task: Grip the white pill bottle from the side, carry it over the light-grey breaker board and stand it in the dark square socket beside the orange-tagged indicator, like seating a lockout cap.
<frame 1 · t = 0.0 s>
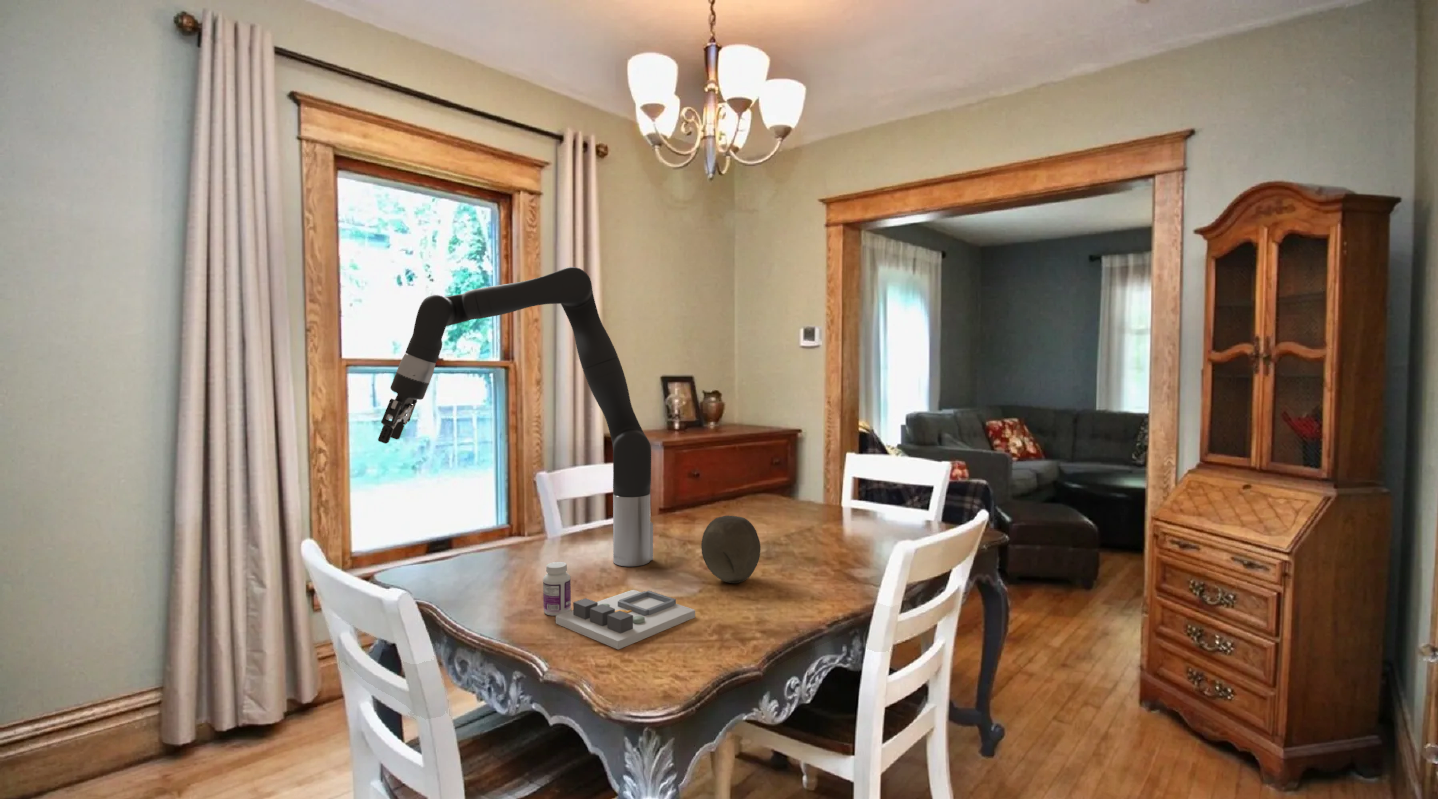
hand: (388, 440, 159), 31 cm above the table, fingers open, 8 cm apart
breaker board: (626, 620, 132), on the table
pill bottle: (557, 612, 137), on the table
dark grey rounded stone: (730, 581, 157), on the table
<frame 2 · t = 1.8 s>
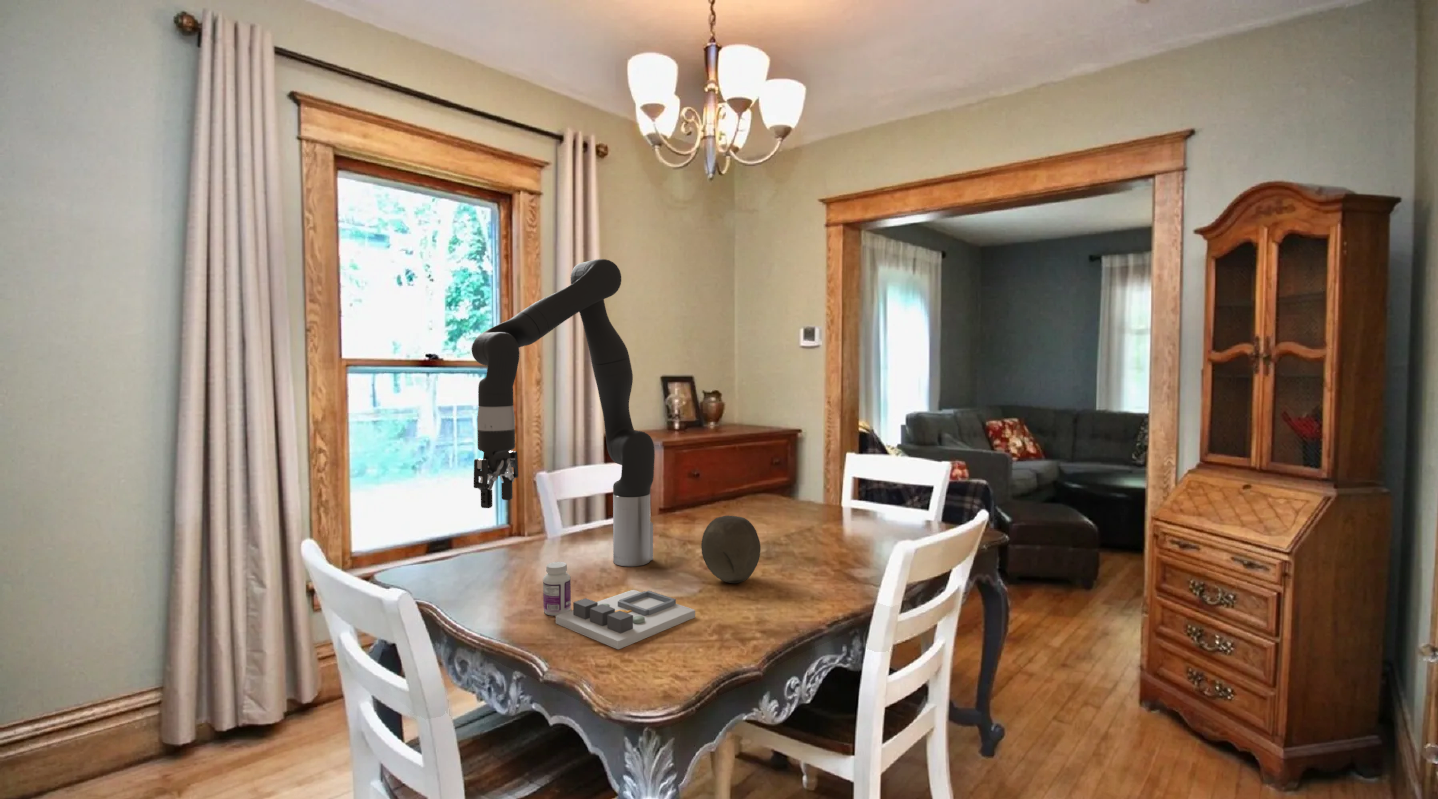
hand: (497, 503, 144), 20 cm above the table, fingers open, 8 cm apart
nothing on the table moved.
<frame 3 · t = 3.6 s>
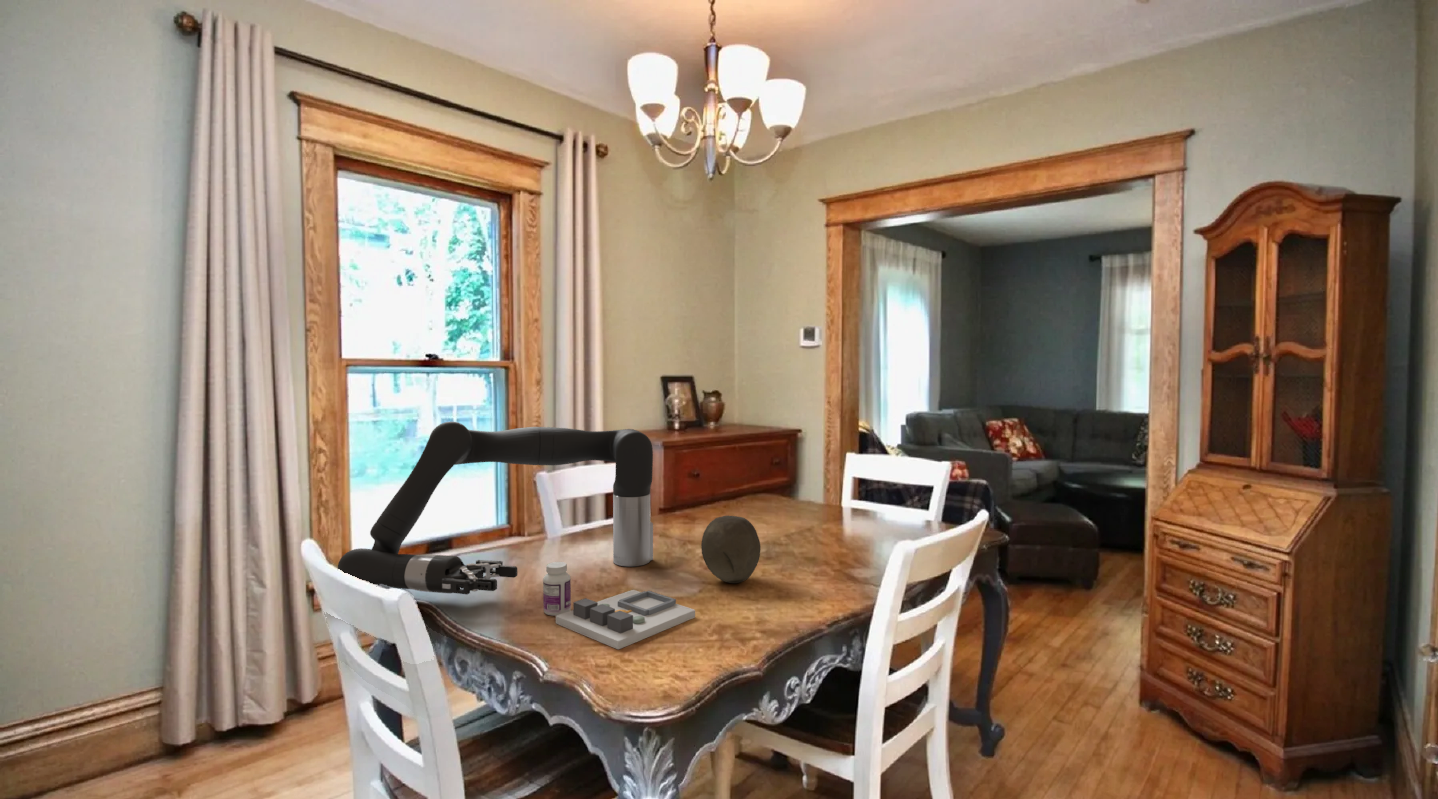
hand: (506, 578, 138), 6 cm above the table, fingers open, 8 cm apart
nothing on the table moved.
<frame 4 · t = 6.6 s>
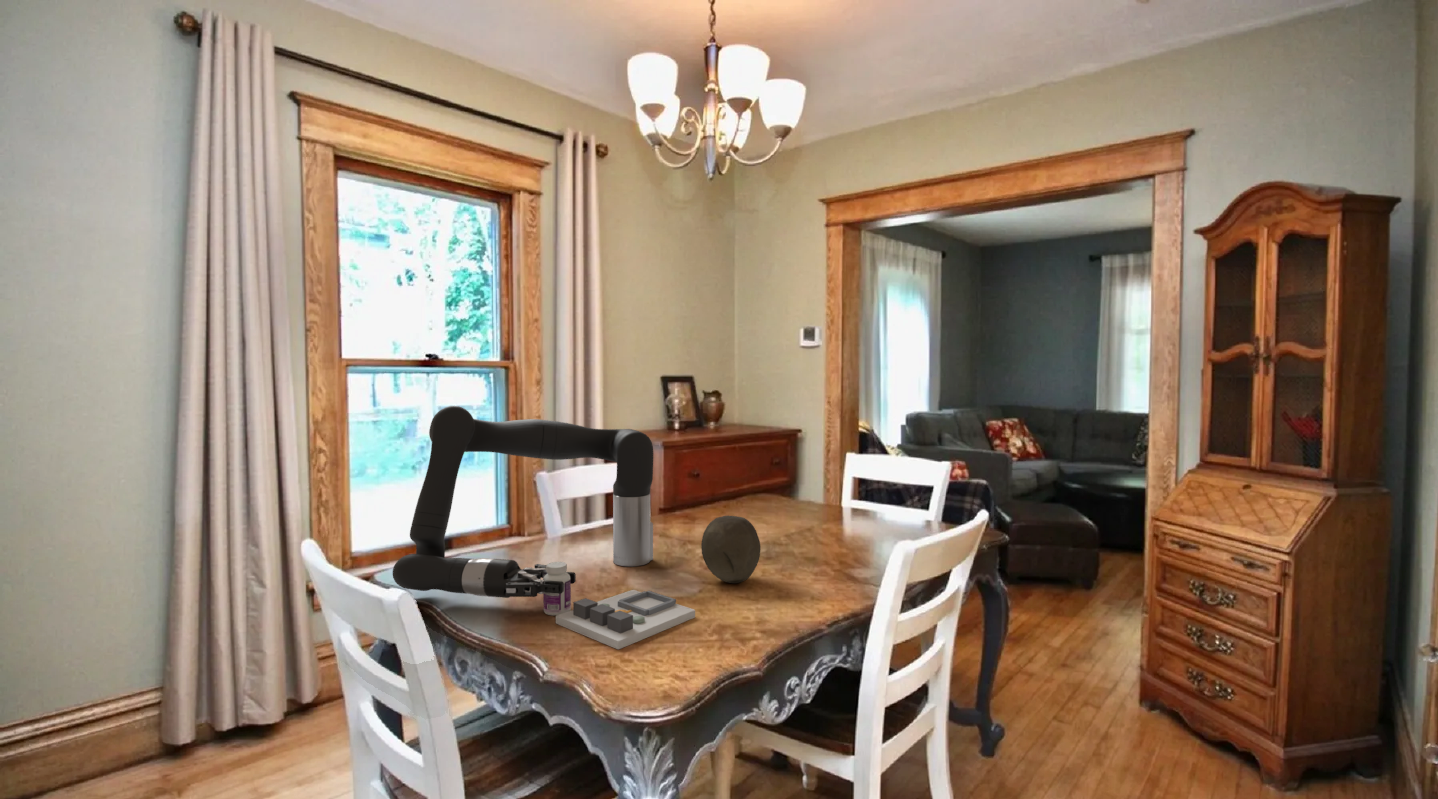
hand: (568, 582, 136), 6 cm above the table, fingers closed on pill bottle, 5 cm apart
pill bottle: (557, 612, 137), on the table, touching gripper
everything else where it was.
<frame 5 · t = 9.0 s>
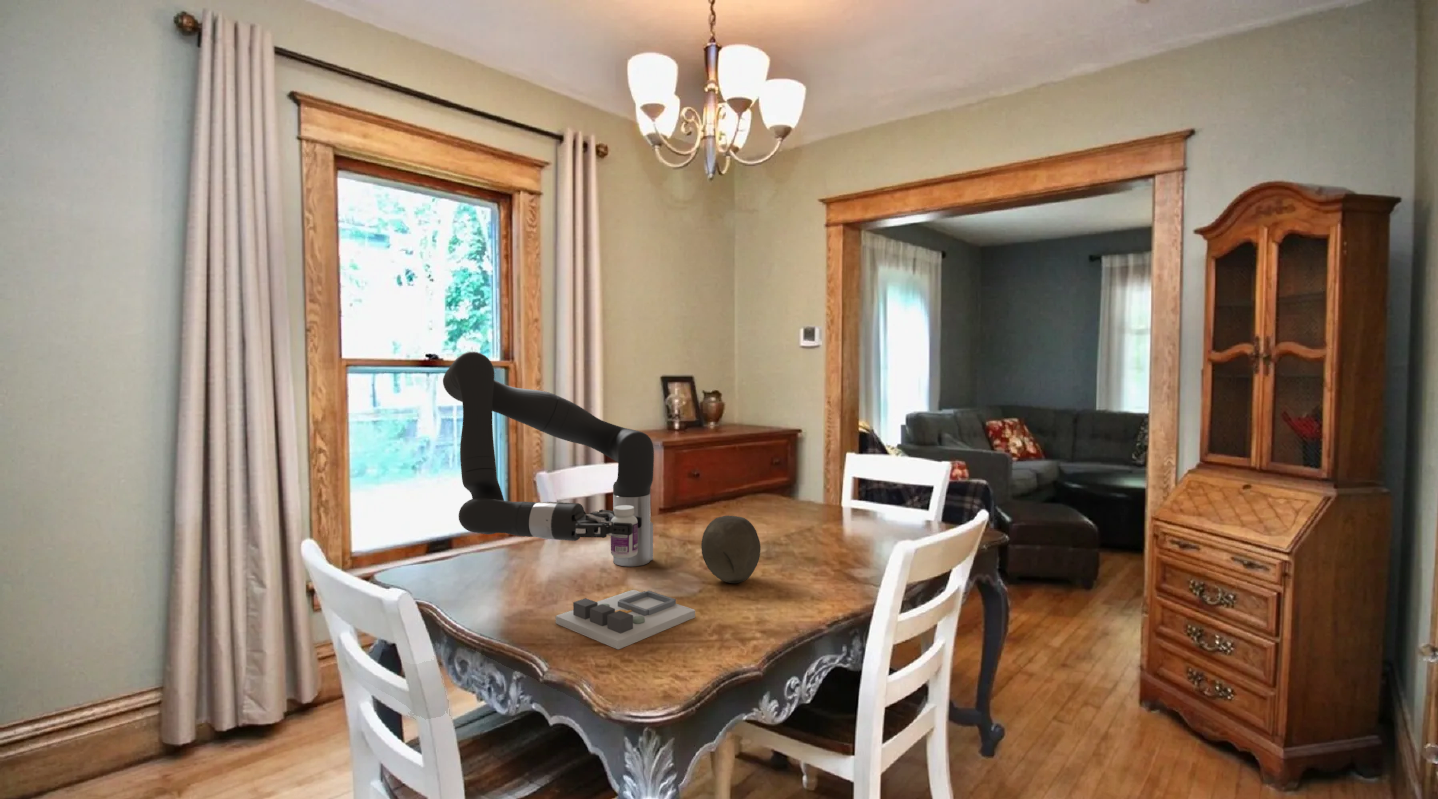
hand: (636, 525, 135), 18 cm above the table, fingers closed on pill bottle, 5 cm apart
pill bottle: (624, 555, 136), point 12 cm above the table, touching gripper
everything else where it was.
when the fingers open (9 cm above the table, at t = 11.5 s): pill bottle drops 1 cm, resting on breaker board.
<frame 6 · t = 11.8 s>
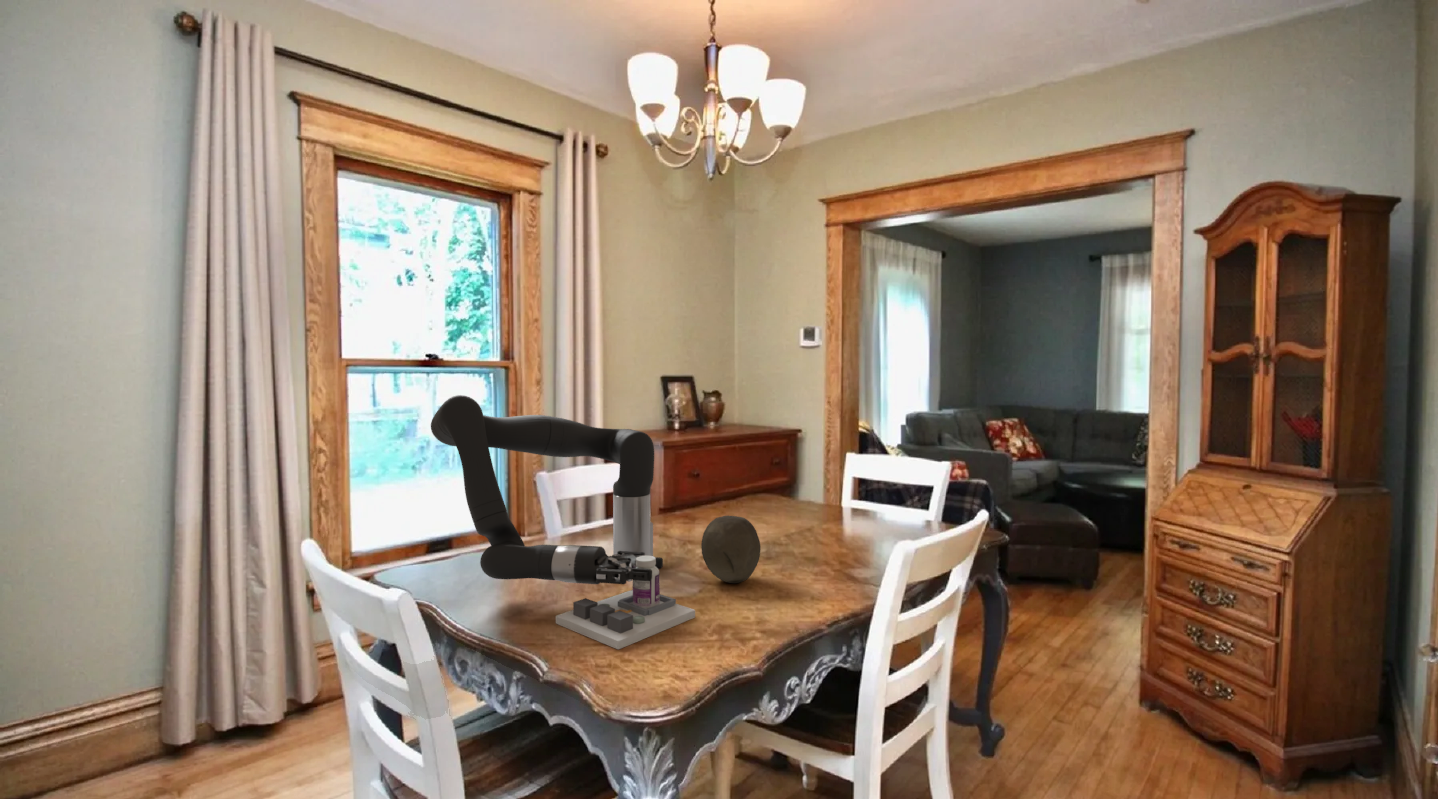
hand: (657, 569, 135), 9 cm above the table, fingers open, 7 cm apart
pill bottle: (646, 606, 136), point 1 cm above the table, touching breaker board
everything else where it was.
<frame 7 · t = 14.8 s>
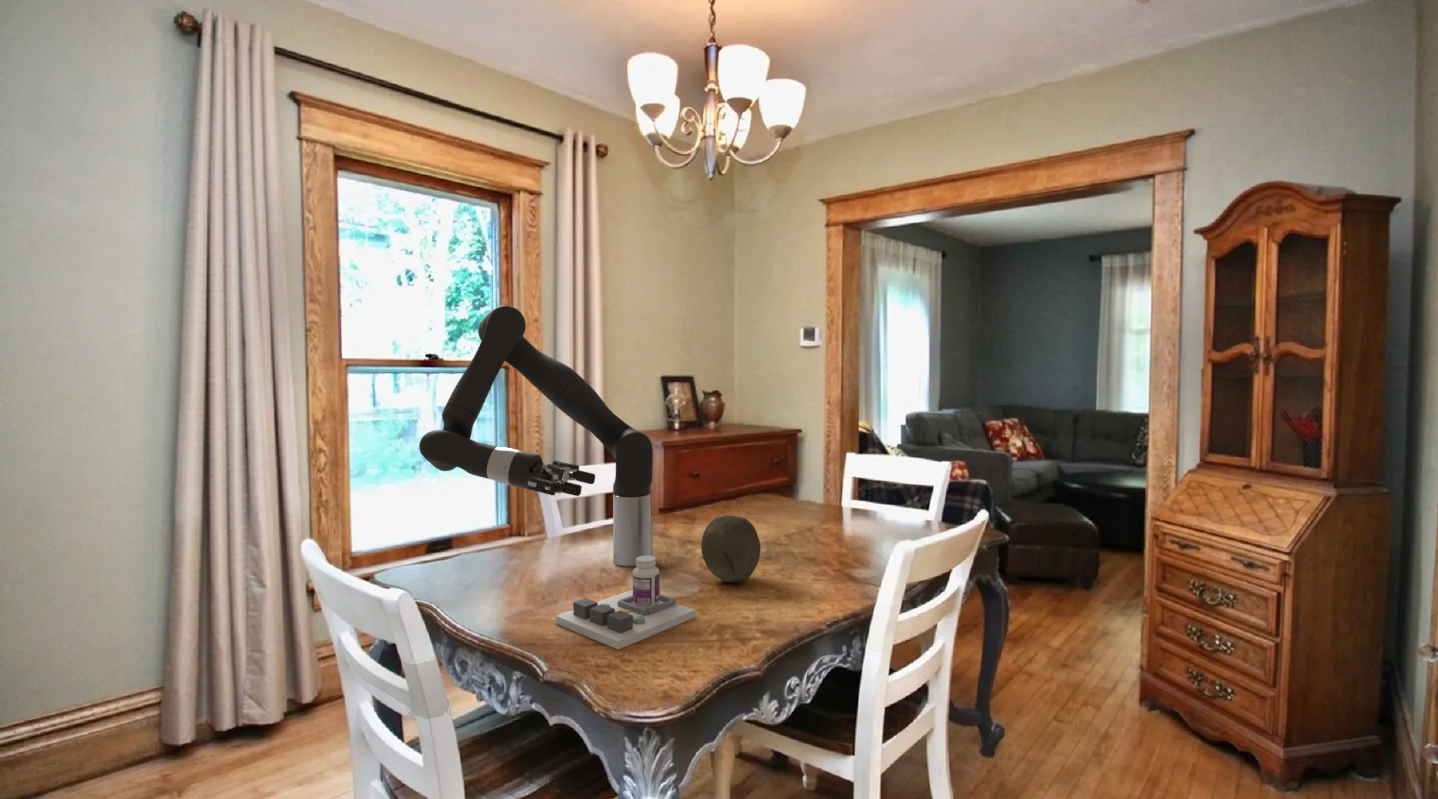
hand: (587, 485, 141), 25 cm above the table, fingers open, 8 cm apart
nothing on the table moved.
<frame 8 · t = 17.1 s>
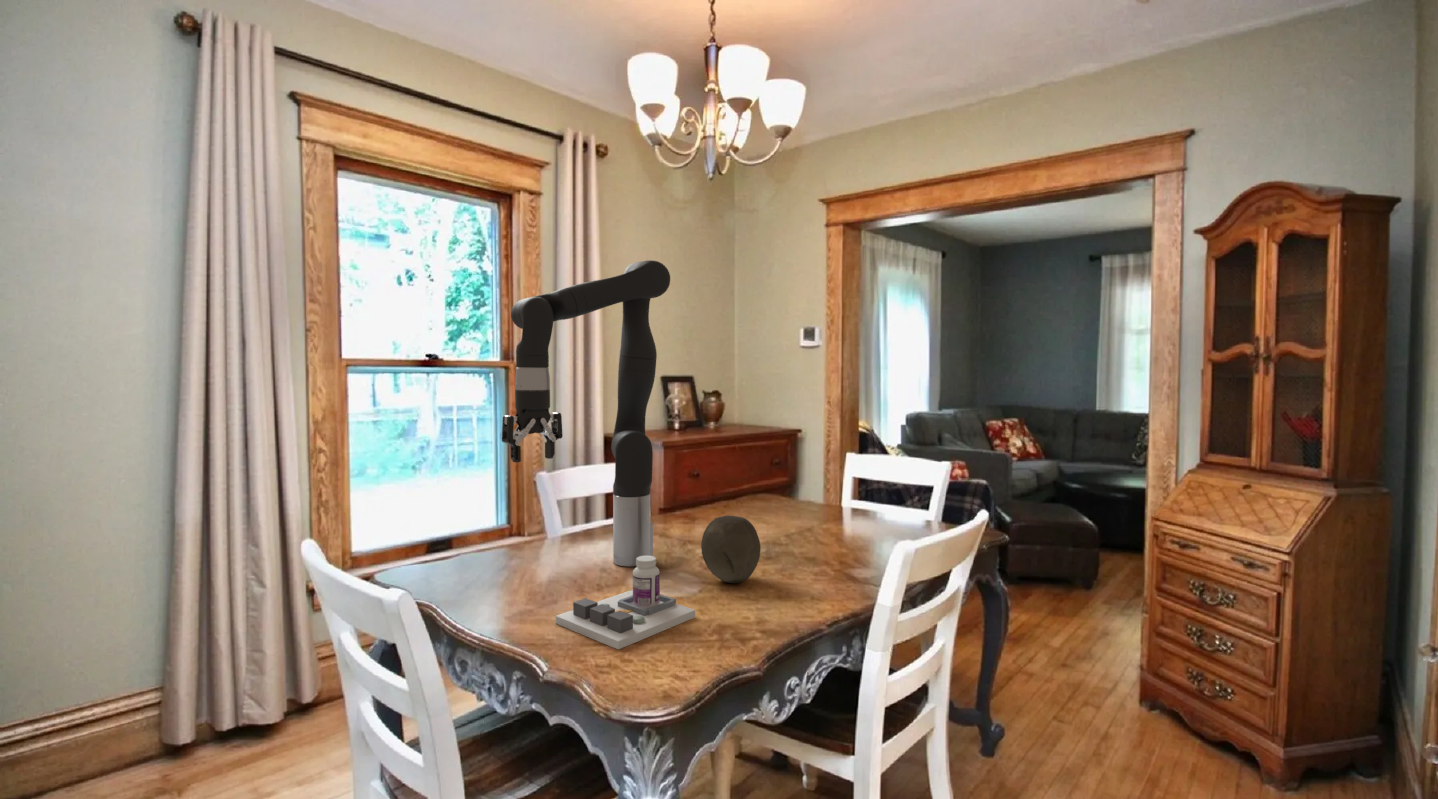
hand: (533, 460, 152), 28 cm above the table, fingers open, 8 cm apart
nothing on the table moved.
at the end: pill bottle inside the target area on the breaker board (0.2 cm from its centre), point 1.3 cm above the breaker board's base; pill bottle tilted 0°; the gripper is holding nothing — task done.
